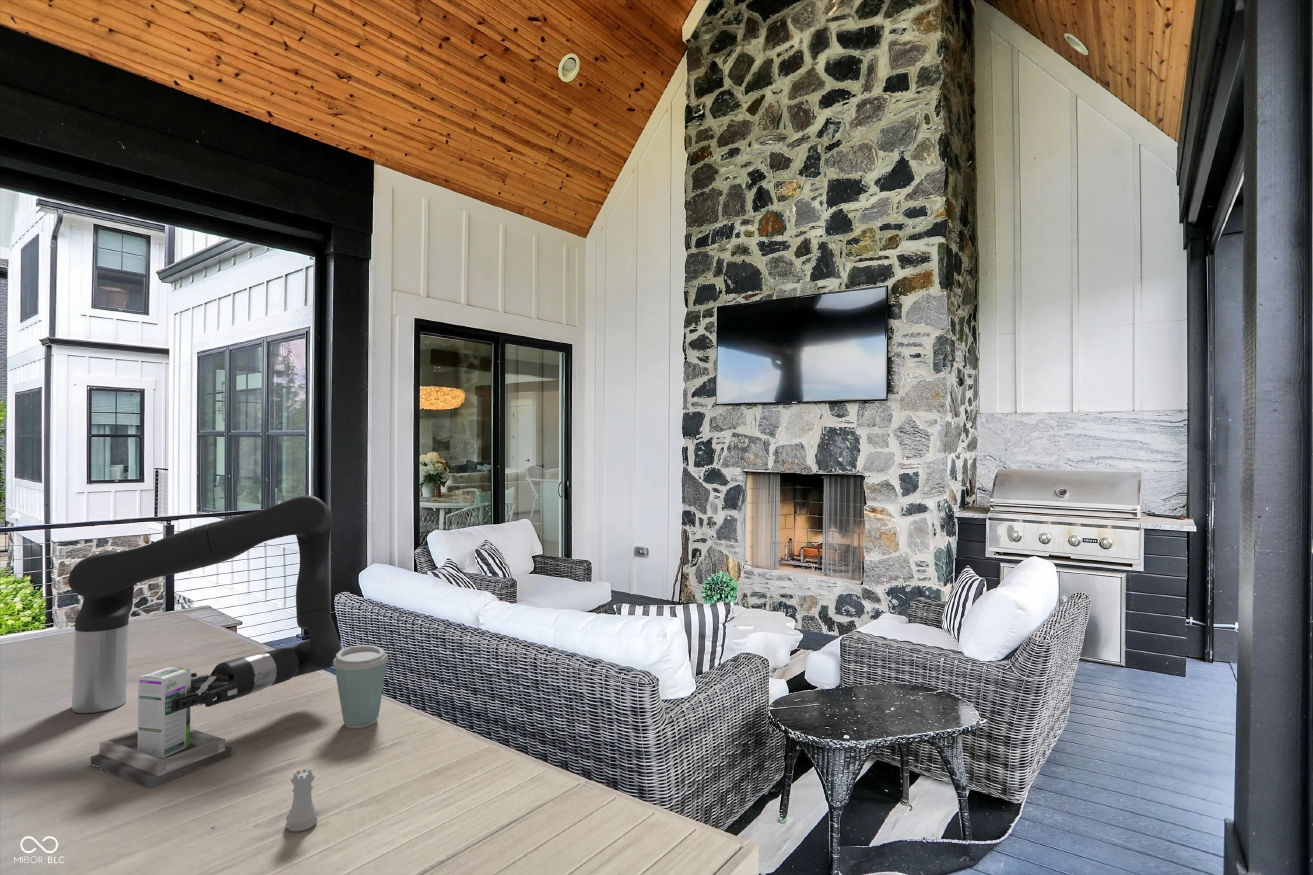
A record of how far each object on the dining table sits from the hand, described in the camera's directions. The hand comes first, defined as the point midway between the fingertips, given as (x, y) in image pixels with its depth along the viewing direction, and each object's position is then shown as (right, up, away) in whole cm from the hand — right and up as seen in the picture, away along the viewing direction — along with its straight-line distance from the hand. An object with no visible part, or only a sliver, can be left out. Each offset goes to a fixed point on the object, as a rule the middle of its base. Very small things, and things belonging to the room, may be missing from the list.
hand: (158, 701), depth 127 cm
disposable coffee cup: (+28, -12, +20) cm, 36 cm away
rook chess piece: (+36, -12, -20) cm, 43 cm away
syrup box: (0, -10, +1) cm, 10 cm away
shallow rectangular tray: (0, -11, +1) cm, 11 cm away
